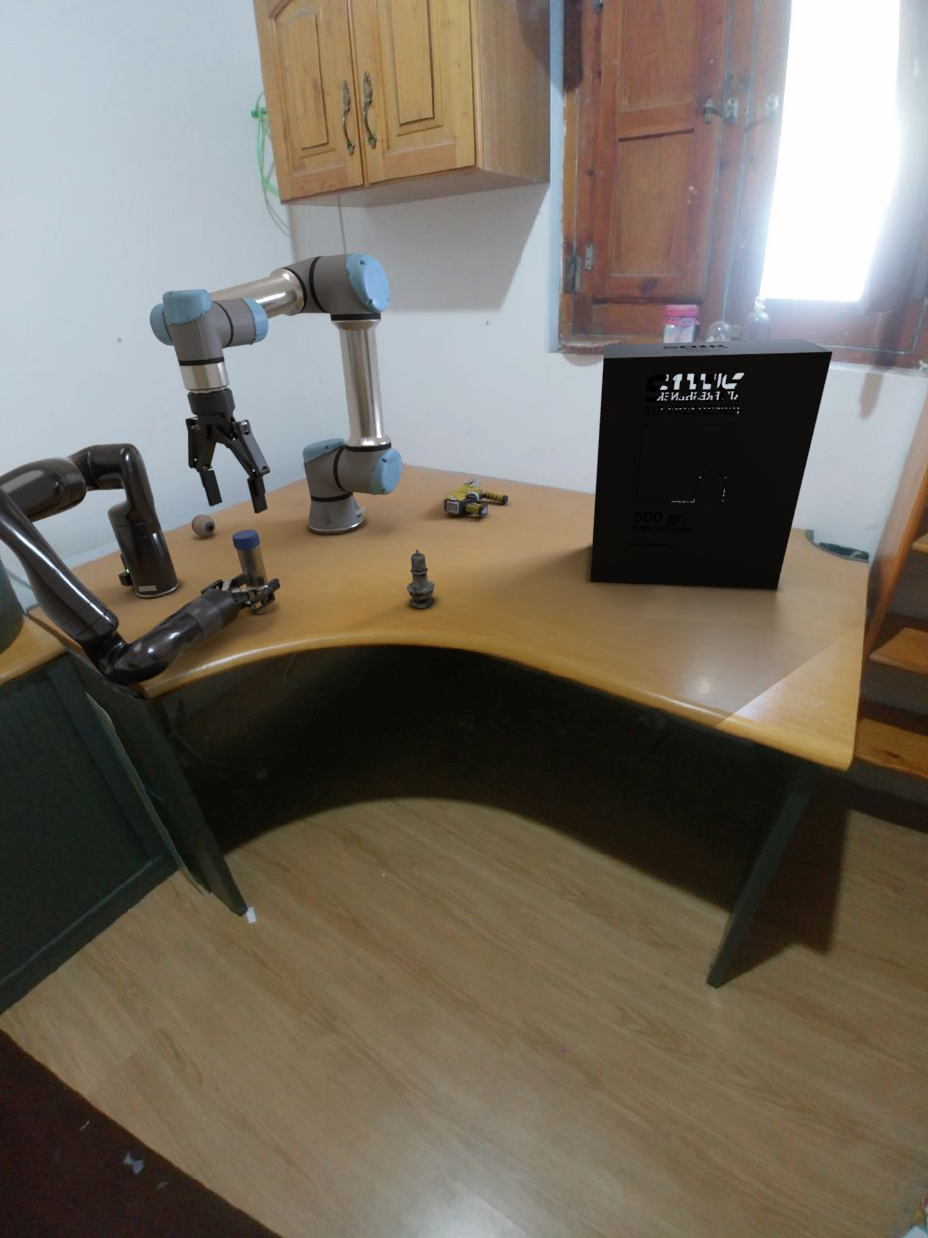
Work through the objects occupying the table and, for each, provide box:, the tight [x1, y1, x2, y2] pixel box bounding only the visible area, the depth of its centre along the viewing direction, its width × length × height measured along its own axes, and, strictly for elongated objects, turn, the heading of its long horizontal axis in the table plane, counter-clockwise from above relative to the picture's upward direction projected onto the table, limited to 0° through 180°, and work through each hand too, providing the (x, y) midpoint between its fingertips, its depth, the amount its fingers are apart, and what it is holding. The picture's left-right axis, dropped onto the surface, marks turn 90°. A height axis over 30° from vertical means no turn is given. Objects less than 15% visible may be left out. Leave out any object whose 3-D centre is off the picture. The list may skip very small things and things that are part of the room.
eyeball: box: [191, 514, 216, 538], centre depth 166 cm, size 6×6×6 cm
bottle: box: [236, 544, 275, 615], centre depth 124 cm, size 4×4×17 cm
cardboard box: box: [589, 338, 834, 590], centre depth 125 cm, size 38×20×45 cm, turn 78°
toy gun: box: [443, 478, 509, 519], centre depth 176 cm, size 5×24×15 cm
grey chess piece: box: [406, 549, 436, 609], centre depth 124 cm, size 6×6×12 cm
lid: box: [231, 529, 261, 550], centre depth 120 cm, size 5×5×2 cm
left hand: (261, 579), depth 126 cm, fingers open, 8 cm apart
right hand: (238, 507), depth 117 cm, fingers open, 11 cm apart
